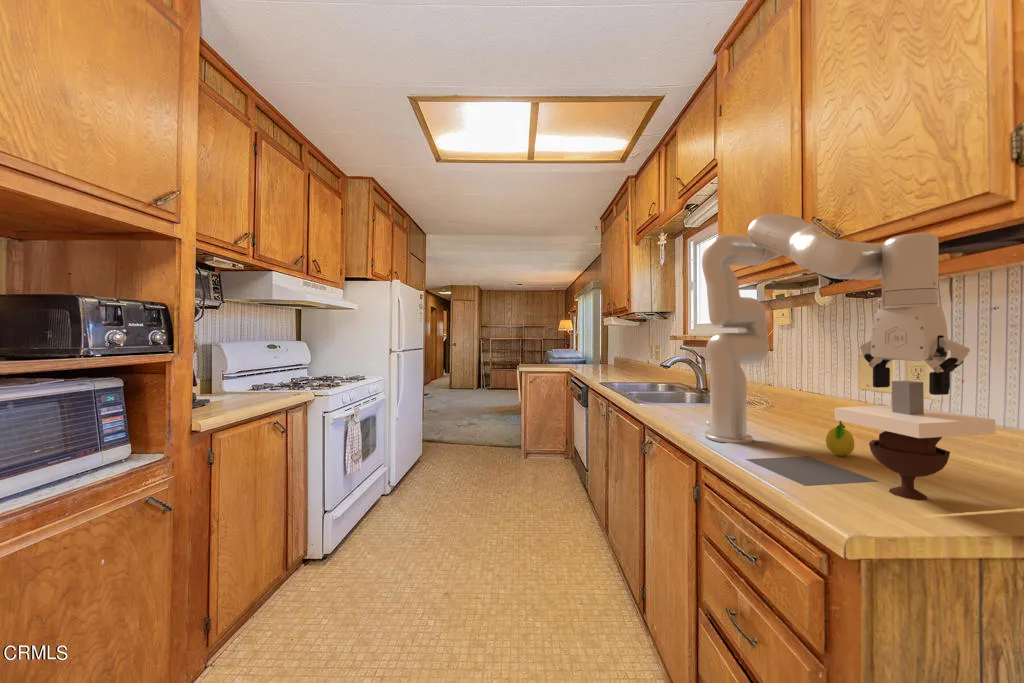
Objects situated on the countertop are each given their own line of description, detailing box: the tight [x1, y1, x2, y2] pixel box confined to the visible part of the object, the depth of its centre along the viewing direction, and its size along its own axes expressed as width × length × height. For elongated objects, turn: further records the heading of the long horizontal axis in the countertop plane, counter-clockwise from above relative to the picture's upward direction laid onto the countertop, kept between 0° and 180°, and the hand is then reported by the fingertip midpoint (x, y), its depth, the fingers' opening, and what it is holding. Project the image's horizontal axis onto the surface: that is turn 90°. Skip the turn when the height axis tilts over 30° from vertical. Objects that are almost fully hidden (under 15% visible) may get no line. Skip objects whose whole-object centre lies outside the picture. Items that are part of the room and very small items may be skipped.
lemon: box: [825, 421, 855, 457], centre depth 98 cm, size 7×6×10 cm
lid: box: [834, 380, 996, 438], centre depth 74 cm, size 15×15×8 cm
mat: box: [744, 455, 879, 487], centre depth 88 cm, size 17×17×1 cm
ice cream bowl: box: [868, 430, 951, 501], centre depth 74 cm, size 11×11×15 cm
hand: (908, 390), depth 74 cm, fingers open, 9 cm apart
